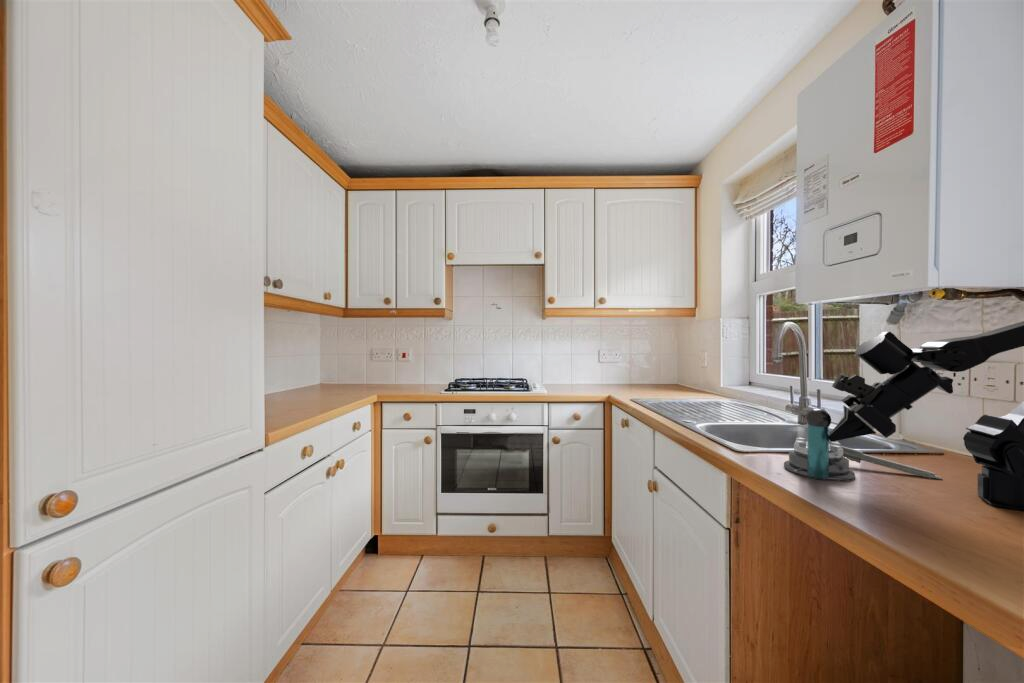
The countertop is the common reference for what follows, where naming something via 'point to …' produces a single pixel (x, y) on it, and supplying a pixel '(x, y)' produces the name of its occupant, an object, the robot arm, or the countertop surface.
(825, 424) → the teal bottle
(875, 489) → the countertop surface
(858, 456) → the caliper
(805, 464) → the cap housing
